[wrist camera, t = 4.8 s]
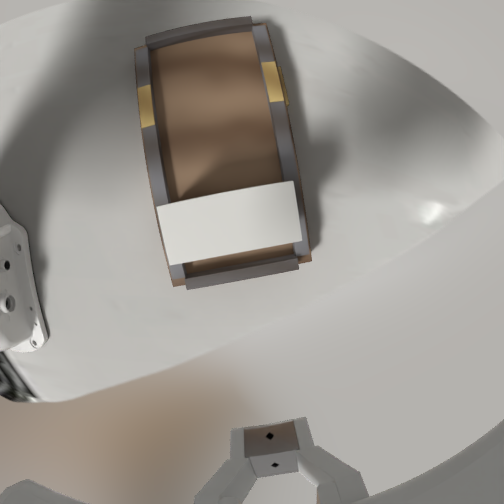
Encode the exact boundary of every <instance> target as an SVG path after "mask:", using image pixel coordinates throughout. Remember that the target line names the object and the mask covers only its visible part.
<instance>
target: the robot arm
mask: <svg viewBox="0 0 504 504" xmlns="http://www.w3.org/2000/svg"><path fill="white" fill-rule="evenodd" d="M47 340H48V335H47V331H46V327H45V324H44V320H43V317H42V313H41V309H40V305H39V301H38V296H37V292H36V287H35V282H34V277H33V271H32V265H31V258H30V251H29V243H28V235H27V232H26V230H25V229H24V228H23V227H22V226H21V225H19V224H18V223H16V222H14V221H13V220H12V219H11V218H10V216H9V215H8V213H7V212H6V210H5V209H4V207H3V206H2V205H1V204H0V351H5V350H8V349H10V350H13V351H16V352H32V351H36V350H38V349H39V348H41V347H42V346H43V345H44V344H45V343H46V342H47ZM298 471H299V473H300V474H302V475H303V476H304V477H305V478H306V479H307V480H308V481H310V482H311V483H312V484H313V485H314V486H315V487H317V504H504V420H503V421H502V422H500V423H499V424H498V425H497V426H495V427H494V428H493V429H492V430H490V431H489V432H488V433H486V434H485V435H484V436H482V437H481V438H480V439H478V440H477V441H476V442H474V443H473V444H471V445H470V446H468V447H467V448H465V449H464V450H463V451H461V452H459V453H458V454H456V455H455V456H453V457H451V458H450V459H448V460H447V461H445V462H443V463H441V464H440V465H438V466H436V467H434V468H433V469H431V470H429V471H427V472H425V473H423V474H421V475H419V476H417V477H415V478H413V479H411V480H409V481H407V482H405V483H402V484H400V485H398V486H396V487H393V488H391V489H388V490H386V491H383V492H381V493H378V494H376V495H373V496H370V497H369V494H368V492H367V489H366V487H365V484H364V482H363V479H362V477H361V474H360V472H359V471H357V470H355V469H354V468H352V467H350V466H349V465H347V464H345V463H344V462H342V461H341V460H339V459H338V458H336V457H335V456H333V455H331V454H330V453H328V452H327V451H325V450H324V449H322V448H321V447H319V446H314V443H313V440H312V436H311V433H310V429H309V425H308V422H307V418H306V417H302V418H297V419H291V420H287V421H282V422H277V423H272V424H268V425H259V426H251V427H242V428H232V429H231V442H230V459H228V460H226V461H225V462H224V464H223V465H222V466H221V467H220V468H219V470H218V471H217V472H216V473H215V474H214V475H213V477H212V478H211V479H210V480H209V481H208V482H207V483H206V484H205V486H204V487H203V488H202V489H201V490H200V491H199V492H198V493H197V495H195V499H194V504H242V502H243V501H244V499H245V498H246V496H247V495H248V493H249V491H250V490H251V488H252V487H253V485H254V483H255V482H256V480H257V478H259V477H267V476H272V475H279V474H285V473H292V472H298ZM0 504H90V503H87V502H84V501H81V500H77V499H75V498H72V497H69V496H67V495H64V494H62V493H59V492H57V491H54V490H52V489H50V488H47V487H45V486H43V485H41V484H39V483H37V482H34V481H32V480H29V479H26V480H23V481H20V482H18V483H16V484H14V485H12V486H10V487H7V488H6V489H5V490H4V491H3V492H2V493H1V495H0Z"/></svg>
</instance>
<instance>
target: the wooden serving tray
mask: <svg viewBox="0 0 504 504" xmlns="http://www.w3.org/2000/svg"><path fill="white" fill-rule="evenodd" d="M134 53H135V71H136V84H137V95H138V105H139V115H140V123H141V131H142V138H143V145H144V152H145V159H146V165H147V171H148V177H149V182H150V188H151V193H152V198H153V204H154V208H155V213H156V218H157V223H158V227H159V232H160V236H161V241H162V245H163V249H164V253H165V257H166V261H167V265H168V269H169V273H170V277H171V280H172V284H173V287H176V286H181V285H186V288H187V290H190V289H196V288H201V287H207V286H213V285H218V284H224V283H230V282H235V281H241V280H246V279H251V278H257V277H262V276H267V275H272V274H278V273H283V272H288V271H293V270H298V269H299V265H298V264H300V263H305V262H310V261H312V257H311V249H310V241H309V233H308V226H307V218H306V212H305V205H304V198H303V192H302V186H301V179H300V173H299V168H298V162H297V156H296V151H295V145H294V140H293V135H292V130H291V125H290V120H289V115H288V110H287V106H288V105H289V101H288V96H287V92H286V87H285V83H284V79H283V74H282V70H281V66H279V67H278V66H277V62H276V58H275V54H274V50H273V46H272V43H271V39H270V35H269V31H268V28H267V24H266V23H258V24H253V23H252V19H251V16H249V17H239V18H231V19H223V20H216V21H210V22H204V23H199V24H194V25H189V26H185V27H180V28H176V29H172V30H168V31H164V32H161V33H157V34H154V35H150V36H147V37H146V45H144V46H141V47H138V48H135V49H134ZM287 181H293V182H294V188H295V194H296V201H297V207H298V214H299V221H300V228H301V235H302V241H299V242H293V243H288V244H283V245H277V246H272V247H266V248H261V249H256V250H250V251H245V252H240V253H234V254H229V255H224V256H218V257H213V258H207V259H202V260H197V261H191V262H186V263H181V264H175V265H169V261H168V257H167V253H166V249H165V244H164V240H163V236H162V231H161V227H160V222H159V218H158V213H157V208H156V207H158V206H162V205H166V204H170V203H173V202H178V201H182V200H187V199H191V198H196V197H201V196H206V195H211V194H216V193H221V192H226V191H231V190H237V189H242V188H248V187H254V186H260V185H266V184H272V183H278V182H287Z"/></svg>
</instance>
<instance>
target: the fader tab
mask: <svg viewBox="0 0 504 504" xmlns="http://www.w3.org/2000/svg"><path fill="white" fill-rule="evenodd" d="M156 208H157V213H158V218H159V222H160V227H161V231H162V236H163V240H164V244H165V249H166V253H167V257H168V261H169V265H175V264H181V263H186V262H191V261H197V260H202V259H207V258H213V257H218V256H224V255H229V254H234V253H240V252H245V251H250V250H256V249H261V248H266V247H272V246H277V245H283V244H288V243H293V242H299V241H302V235H301V228H300V221H299V214H298V207H297V201H296V194H295V188H294V182H293V181H287V182H278V183H272V184H266V185H260V186H254V187H248V188H242V189H237V190H231V191H226V192H221V193H216V194H211V195H206V196H201V197H196V198H191V199H187V200H182V201H178V202H173V203H170V204H166V205H162V206H158V207H156Z"/></svg>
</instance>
